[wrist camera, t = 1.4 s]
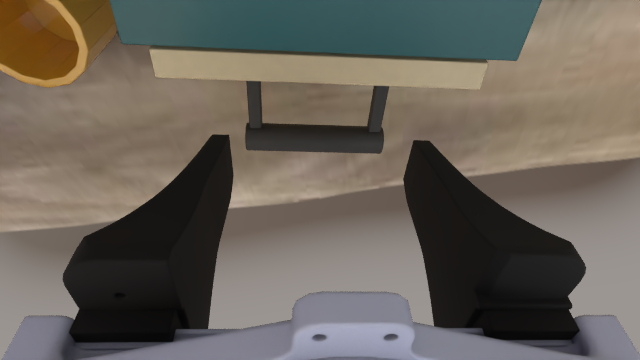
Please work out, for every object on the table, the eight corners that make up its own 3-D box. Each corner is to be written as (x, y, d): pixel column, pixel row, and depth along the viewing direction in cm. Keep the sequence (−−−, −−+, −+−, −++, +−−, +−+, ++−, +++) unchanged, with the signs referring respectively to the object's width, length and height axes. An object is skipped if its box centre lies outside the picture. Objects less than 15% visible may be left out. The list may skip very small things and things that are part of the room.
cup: (41, 44, 22) (-7, 86, 19) (-1, -59, 19) (-69, -30, 15) (132, 47, 22) (101, 89, 19) (106, -52, 19) (63, -24, 16)
